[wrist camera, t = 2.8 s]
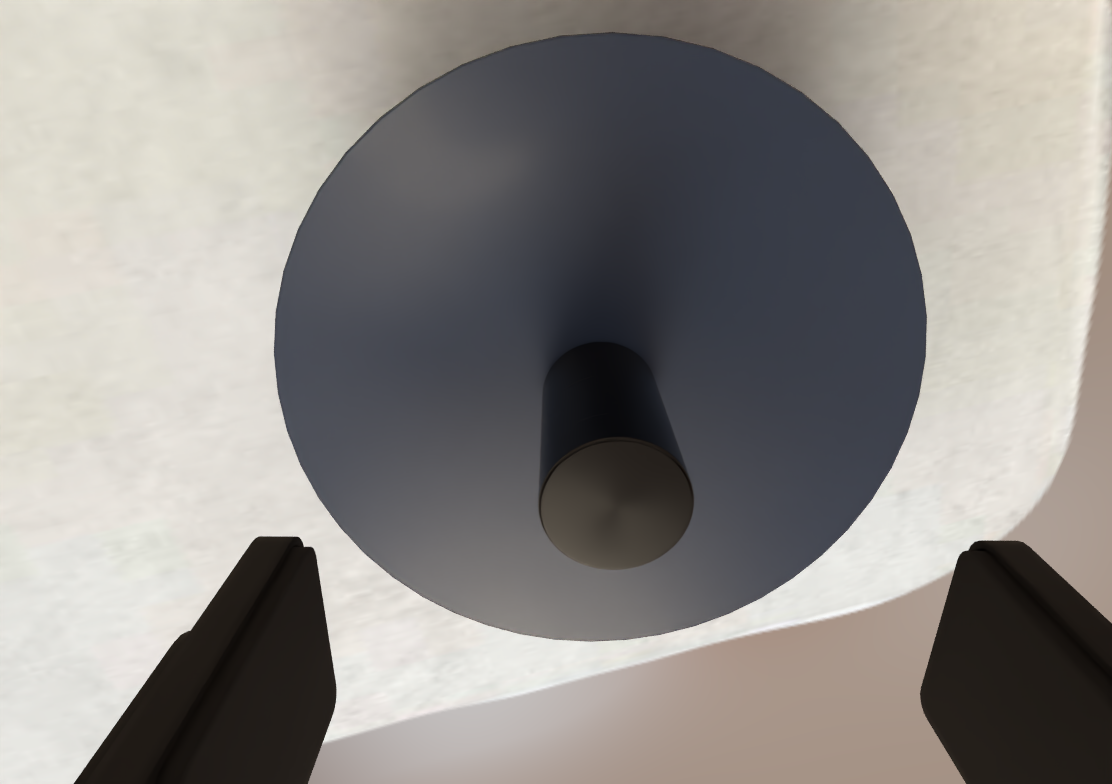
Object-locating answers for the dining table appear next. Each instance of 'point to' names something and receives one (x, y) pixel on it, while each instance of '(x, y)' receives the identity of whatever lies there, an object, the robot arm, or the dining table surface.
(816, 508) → the pot lid
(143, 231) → the dining table surface
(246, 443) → the dining table surface
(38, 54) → the dining table surface
